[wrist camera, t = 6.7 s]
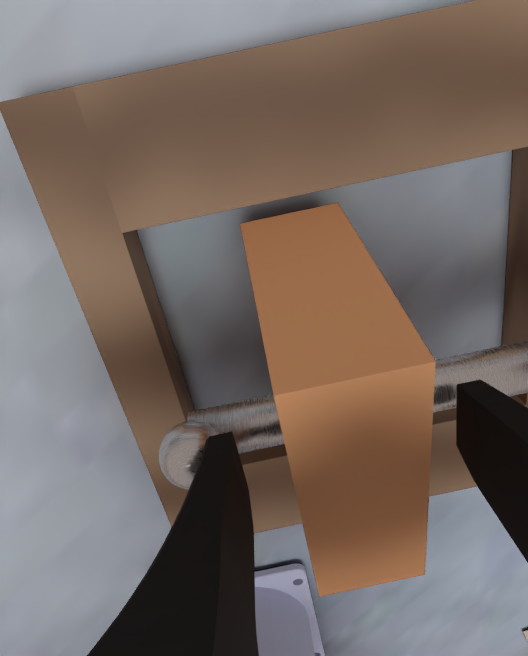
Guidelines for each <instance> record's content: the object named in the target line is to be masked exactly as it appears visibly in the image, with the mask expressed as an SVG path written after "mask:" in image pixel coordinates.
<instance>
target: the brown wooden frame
mask: <svg viewBox="0 0 528 656" xmlns="http://www.w3.org/2000/svg"><path fill="white" fill-rule="evenodd" d="M0 111H1V113H2V116H3V118H4V121H5V123H6V125H7V128H8V130H9V133H10V135H11V138H12V140H13V143H14V145H15V147H16V150H17V152H18V155H19V157H20V160H21V162H22V164H23V167H24V169H25V172H26V174H27V177H28V179H29V181H30V184H31V186H32V189H33V191H34V194H35V196H36V198H37V201H38V203H39V206H40V208H41V211H42V213H43V215H44V218H45V220H46V223H47V225H48V228H49V230H50V232H51V235H52V237H53V240H54V242H55V245H56V247H57V249H58V252H59V254H60V257H61V259H62V262H63V264H64V266H65V269H66V271H67V274H68V276H69V279H70V281H71V284H72V286H73V288H74V291H75V293H76V296H77V298H78V301H79V303H80V305H81V308H82V310H83V313H84V315H85V318H86V320H87V322H88V325H89V327H90V330H91V332H92V335H93V337H94V339H95V342H96V344H97V347H98V349H99V352H100V354H101V356H102V359H103V361H104V364H105V366H106V369H107V371H108V373H109V376H110V378H111V381H112V383H113V386H114V388H115V390H116V393H117V395H118V398H119V400H120V403H121V405H122V407H123V410H124V412H125V415H126V417H127V420H128V422H129V425H130V427H131V429H132V432H133V434H134V437H135V439H136V442H137V444H138V446H139V449H140V451H141V454H142V456H143V459H144V461H145V463H146V466H147V468H148V471H149V473H150V476H151V478H152V480H153V483H154V485H155V488H156V490H157V493H158V495H159V497H160V500H161V502H162V505H163V507H164V510H165V512H166V514H167V517H168V519H169V522H170V524H171V527H172V526H173V524H174V522H175V519H176V517H177V515H178V513H179V511H180V509H181V507H182V505H183V502H184V500H185V498H186V495H187V493H188V489H183V488H180V487H178V486H176V485H174V484H172V483H171V482H170V481H169V480H168V479H167V478H166V477H165V475H164V474H163V472H162V470H161V467H160V464H159V449H160V445H161V442H162V440H163V438H164V436H165V435H166V434H167V432H168V431H169V430H170V429H171V428H173V427H174V426H175V425H177V424H179V423H181V422H184V421H187V415H188V412H192V411H194V407H193V404H192V401H191V398H190V395H189V392H188V389H187V386H186V383H185V380H184V376H183V373H182V370H181V367H180V364H179V361H178V358H177V355H176V352H175V349H174V346H173V342H172V339H171V336H170V333H169V330H168V327H167V324H166V321H165V318H164V315H163V311H162V308H161V305H160V302H159V299H158V296H157V293H156V290H155V287H154V284H153V281H152V277H151V274H150V271H149V268H148V265H147V262H146V259H145V256H144V253H143V250H142V246H141V243H140V240H139V237H138V234H137V231H136V230H138V229H143V228H148V227H153V226H157V225H162V224H167V223H171V222H176V221H181V220H185V219H190V218H195V217H199V216H204V215H209V214H214V213H218V212H223V211H228V210H232V209H237V208H242V207H246V206H251V205H256V204H260V203H265V202H270V201H275V200H279V199H284V198H289V197H293V196H298V195H303V194H307V193H312V192H317V191H322V190H326V189H331V188H336V187H340V186H345V185H350V184H354V183H359V182H364V181H368V180H373V179H378V178H383V177H387V176H392V175H397V174H401V173H406V172H411V171H415V170H420V169H425V168H429V167H434V166H439V165H444V164H448V163H453V162H458V161H462V160H467V159H472V158H476V157H481V156H486V155H491V154H495V153H500V152H505V151H509V150H513V159H512V177H511V194H510V212H509V230H508V248H507V266H506V284H505V301H504V319H503V337H502V346H504V345H508V344H513V343H518V342H523V341H527V340H528V0H474V1H470V2H465V3H460V4H456V5H451V6H446V7H442V8H437V9H432V10H428V11H423V12H418V13H414V14H409V15H404V16H400V17H395V18H390V19H386V20H381V21H376V22H372V23H367V24H362V25H358V26H353V27H348V28H344V29H339V30H334V31H330V32H325V33H320V34H316V35H311V36H306V37H302V38H297V39H292V40H288V41H283V42H278V43H274V44H269V45H264V46H260V47H255V48H250V49H246V50H241V51H236V52H232V53H227V54H222V55H218V56H213V57H208V58H204V59H199V60H194V61H190V62H185V63H180V64H176V65H171V66H166V67H162V68H157V69H152V70H148V71H143V72H138V73H134V74H129V75H124V76H120V77H115V78H110V79H106V80H101V81H96V82H92V83H87V84H82V85H78V86H73V87H68V88H64V89H59V90H54V91H50V92H45V93H40V94H36V95H31V96H26V97H22V98H17V99H12V100H8V101H3V102H0ZM509 397H511V398H512V399H514V400H516V401H517V402H519V403H521V404H522V405H524V406H526V407H527V408H528V393H524V394H519V395H514V396H509ZM239 456H240V460H241V463H242V467H243V470H244V474H245V477H246V481H247V484H248V488H249V495H250V503H251V510H252V518H253V527H254V533H258V532H262V531H267V530H272V529H277V528H281V527H286V526H291V525H296V524H301V523H302V519H301V514H300V510H299V505H298V501H297V496H296V492H295V488H294V483H293V479H292V474H291V470H290V465H289V461H288V457H287V452H286V448H285V444H282V445H277V446H272V447H268V448H263V449H258V450H254V451H249V452H244V453H239ZM476 486H477V485H476V483H475V482H474V480H473V478H472V476H471V474H470V472H469V470H468V468H467V466H466V464H465V462H464V460H463V458H462V456H461V454H460V452H459V450H458V447H457V445H456V408H453V409H448V410H443V411H438V412H434V413H433V424H432V444H431V463H430V483H429V496H434V495H438V494H443V493H448V492H453V491H457V490H462V489H467V488H472V487H476Z"/></svg>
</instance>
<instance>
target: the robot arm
mask: <svg viewBox="0 0 528 656" xmlns="http://www.w3.org/2000/svg"><path fill="white" fill-rule="evenodd" d="M456 445H457V447H458V450H459V452H460V454H461V456H462V458H463V460H464V462H465V464H466V466H467V468H468V470H469V472H470V474H471V476H472V478H473V480H474V482H475V483H476V485H477V486H478V488H479V489H480V491H481V492H482V494H483V495H484V497H485V499H486V500H487V502H488V503H489V505H490V506H491V508H492V509H493V511H494V512H495V514H496V515H497V517H498V518H499V520H500V521H501V523H502V524H503V526H504V527H505V529H506V530H507V532H508V533H509V535H510V536H511V538H512V539H513V541H514V542H515V544H516V545H517V547H518V548H519V550H520V551H521V553H522V554H523V556H524V557H525V559H526V561H527V562H528V408H527V407H526V406H524V405H522V404H521V403H519V402H517V401H516V400H514V399H512V398H511V397H509V396H507V395H506V394H504V393H502V392H501V391H499V390H497V389H496V388H494V387H492V386H491V385H489V384H487V383H486V382H484V381H482V380H475V381H470V382H466V383H461V384H457V396H456ZM87 656H325V653H324V649H323V644H322V640H321V636H320V631H319V627H318V623H317V618H316V614H315V610H314V605H313V601H312V597H311V592H310V588H309V584H308V579H307V575H306V571H305V567H304V566H303V565H301V564H298V563H296V564H290V565H285V566H281V567H276V568H271V569H266V570H262V571H257V572H255V571H254V527H253V518H252V510H251V503H250V495H249V488H248V484H247V481H246V477H245V474H244V470H243V467H242V463H241V460H240V456H239V453H238V449H237V445H236V442H235V438H234V435H233V431H232V432H227V433H223V434H218V435H213V436H209V437H208V438H207V440H206V442H205V446H204V449H203V452H202V456H201V459H200V462H199V464H198V467H197V470H196V473H195V475H194V478H193V481H192V483H191V486H190V488H189V490H188V493H187V495H186V498H185V500H184V502H183V505H182V507H181V509H180V511H179V513H178V515H177V517H176V519H175V522H174V524H173V526H172V528H171V530H170V532H169V534H168V536H167V538H166V540H165V542H164V543H163V545H162V547H161V549H160V551H159V553H158V554H157V556H156V558H155V560H154V561H153V563H152V565H151V566H150V568H149V570H148V571H147V573H146V575H145V576H144V578H143V579H142V581H141V582H140V584H139V585H138V587H137V588H136V590H135V592H134V593H133V595H132V596H131V598H130V599H129V601H128V602H127V604H126V605H125V606H124V608H123V609H122V611H121V612H120V613H119V615H118V616H117V618H116V619H115V620H114V621H113V623H112V624H111V625H110V627H109V628H108V629H107V631H106V632H105V633H104V634H103V636H102V637H101V638H100V640H99V641H98V642H97V644H96V645H95V646H94V648H93V649H92V650H91V651H90V653H89V654H88V655H87Z"/></svg>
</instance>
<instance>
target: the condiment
mask: <svg viewBox="0 0 528 656" xmlns="http://www.w3.org/2000/svg"><path fill="white" fill-rule="evenodd" d="M523 633H524V635H525V637H526V640H527V642H528V630H526V631H523Z"/></svg>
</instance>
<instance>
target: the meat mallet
mask: <svg viewBox="0 0 528 656" xmlns="http://www.w3.org/2000/svg"><path fill="white" fill-rule="evenodd" d="M435 361H436V365H435V385H434V404H433V413H434V412H438V411H443V410H448V409H453V408H456V396H457V384H461V383H466V382H470V381H475V380H482V381H484V382H486V383H487V384H489V385H491V386H492V387H494V388H496V389H497V390H499V391H501V392H502V393H504V394H506V395H507V396H514V395H519V394H524V393H528V340H527V341H523V342H518V343H513V344H508V345H504V346H499V347H494V348H489V349H485V350H480V351H475V352H470V353H466V354H461V355H456V356H452V357H447V358H442V359H437V360H435ZM232 431H233V435H234V438H235V442H236V445H237V449H238V453H244V452H249V451H254V450H258V449H263V448H268V447H272V446H277V445H282V444H285V443H284V439H283V434H282V430H281V426H280V421H279V417H278V412H277V408H276V403H275V399H274V394H272V395H267V396H262V397H258V398H253V399H248V400H244V401H239V402H234V403H229V404H225V405H220V406H215V407H210V408H206V409H201V410H196V411H192V412H188V415H187V421H184V422H181V423H179V424H177V425H175V426H174V427H173V428H171V429H170V430H169V431H168V432H167V434H166V435H165V436H164V438H163V440H162V442H161V445H160V449H159V464H160V467H161V470H162V472H163V474H164V475H165V477H166V478H167V479H168V480H169V481H170V482H171V483H172V484H174V485H176V486H178V487H180V488H183V489H188V490H189V488H190V486H191V483H192V481H193V478H194V475H195V473H196V470H197V467H198V464H199V462H200V459H201V456H202V452H203V449H204V446H205V442H206V440H207V438H208V437H209V436H213V435H218V434H223V433H227V432H232Z"/></svg>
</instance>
